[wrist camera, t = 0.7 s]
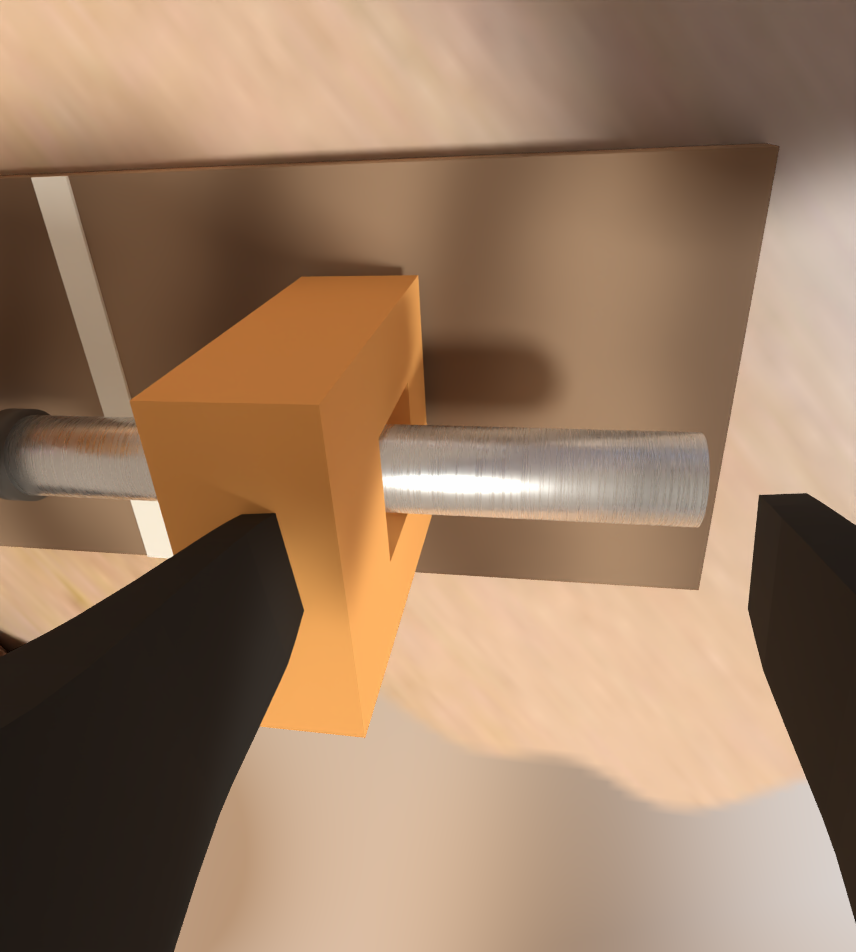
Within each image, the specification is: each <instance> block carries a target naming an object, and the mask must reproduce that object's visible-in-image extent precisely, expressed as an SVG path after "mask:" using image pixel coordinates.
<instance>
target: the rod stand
mask: <svg viewBox="0 0 856 952" xmlns="http://www.w3.org/2000/svg"><path fill="white" fill-rule="evenodd" d="M778 152H779V146H776V145H772V144H768V143H762V144H738V145H714V146H691V147H667V148H643V149H619V150H596V151H572V152H548V153H524V154H501V155H477V156H453V157H430V158H406V159H382V160H358V161H335V162H311V163H287V164H263V165H240V166H216V167H192V168H169V169H145V170H121V171H97V172H74V173H50V174H26V175H2V176H0V546H11V547H27V548H43V549H58V550H74V551H90V552H106V553H121V554H137V555H147V556H148V557H156V558H170V557H172V556H173V552H172V549H171V545H170V542H169V538H168V535H167V531H166V528H165V524H164V521H163V517H162V514H161V510H160V507H159V503H158V500H157V496H156V493H155V489H154V486H153V482H152V479H151V475H150V472H149V468H148V465H147V461H146V458H145V454H144V450H143V447H142V443H141V440H140V436H139V433H138V429H137V426H136V422H135V419H134V415H133V412H132V408H131V405H130V400H131V399H133V398H134V397H135V396H137V395H138V394H139V393H141V392H142V391H144V390H145V389H146V388H148V387H149V386H151V385H152V384H153V383H155V382H156V381H157V380H159V379H160V378H162V377H163V376H164V375H166V374H167V373H169V372H170V371H171V370H173V369H174V368H176V367H177V366H178V365H180V364H181V363H182V362H184V361H185V360H187V359H188V358H189V357H191V356H192V355H194V354H195V353H196V352H198V351H199V350H201V349H202V348H203V347H205V346H206V345H207V344H209V343H210V342H212V341H213V340H214V339H216V338H217V337H219V336H220V335H221V334H223V333H224V332H225V331H227V330H228V329H230V328H231V327H232V326H234V325H235V324H237V323H238V322H239V321H241V320H242V319H244V318H245V317H246V316H248V315H249V314H250V313H252V312H253V311H255V310H256V309H257V308H259V307H260V306H262V305H263V304H264V303H266V302H267V301H269V300H270V299H271V298H273V297H274V296H275V295H277V294H278V293H280V292H281V291H282V290H284V289H285V288H287V287H288V286H289V285H291V284H292V283H294V282H295V281H296V280H298V279H299V278H300V277H311V276H393V275H418V279H419V297H420V315H421V333H422V350H423V368H424V386H425V404H426V422H427V425H404V424H386V425H385V427H384V429H383V431H382V433H381V434H380V436H379V448H380V459H381V469H382V480H383V490H384V501H385V511H386V512H389V513H409V514H430V515H432V517H431V520H430V524H429V527H428V530H427V534H426V537H425V540H424V544H423V547H422V550H421V554H420V557H419V560H418V564H417V567H416V570H415V572H421V573H437V574H452V575H468V576H484V577H500V578H516V579H531V580H547V581H563V582H579V583H594V584H610V585H626V586H642V587H657V588H673V589H689V590H699V585H700V579H701V574H702V568H703V563H704V557H705V552H706V546H707V541H708V535H709V530H710V524H711V519H712V513H713V508H714V502H715V497H716V491H717V486H718V480H719V475H720V469H721V464H722V459H723V453H724V448H725V442H726V437H727V431H728V426H729V420H730V415H731V409H732V404H733V398H734V393H735V387H736V382H737V376H738V371H739V365H740V360H741V354H742V349H743V344H744V338H745V333H746V327H747V322H748V316H749V311H750V305H751V300H752V294H753V289H754V283H755V278H756V272H757V267H758V261H759V256H760V250H761V245H762V239H763V234H764V228H765V223H766V218H767V212H768V207H769V201H770V196H771V190H772V185H773V179H774V174H775V168H776V163H777V157H778Z"/></svg>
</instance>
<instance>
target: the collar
mask: <svg viewBox="0 0 856 952" xmlns="http://www.w3.org/2000/svg"><path fill="white" fill-rule="evenodd" d="M130 405H131V408H132V412H133V415H134V419H135V422H136V426H137V429H138V433H139V436H140V440H141V443H142V447H143V450H144V454H145V458H146V461H147V465H148V468H149V472H150V475H151V479H152V482H153V486H154V489H155V493H156V496H157V500H158V503H159V507H160V510H161V514H162V517H163V521H164V524H165V528H166V531H167V535H168V538H169V542H170V545H171V549H172V552H173V556H174V555H175V554H177V553H178V552H180V551H181V550H183V549H184V548H186V547H187V546H189V545H190V544H192V543H193V542H195V541H197V540H198V539H200V538H201V537H203V536H204V535H206V534H208V533H209V532H211V531H212V530H214V529H216V528H217V527H219V526H221V525H222V524H224V523H226V522H228V521H229V520H231V519H233V518H235V517H237V516H239V515H241V514H261V513H276V517H277V520H278V523H279V527H280V530H281V534H282V537H283V540H284V544H285V547H286V550H287V554H288V557H289V561H290V564H291V567H292V571H293V574H294V577H295V581H296V584H297V588H298V591H299V594H300V598H301V601H302V605H303V608H304V613H303V616H302V620H301V623H300V627H299V631H298V634H297V638H296V641H295V644H294V647H293V650H292V653H291V657H290V660H289V663H288V665H287V668H286V670H285V672H284V674H283V677H282V679H281V681H280V683H279V685H278V688H277V690H276V692H275V694H274V696H273V699H272V701H271V703H270V705H269V707H268V709H267V712H266V714H265V716H264V718H263V720H262V722H261V724H260V726H261V727H270V728H280V729H289V730H299V731H309V732H318V733H326V734H336V735H345V736H355V737H364V738H365V736H366V733H367V730H368V727H369V723H370V719H371V716H372V713H373V710H374V706H375V703H376V700H377V697H378V693H379V690H380V687H381V683H382V680H383V677H384V673H385V670H386V667H387V663H388V660H389V657H390V653H391V650H392V647H393V643H394V640H395V637H396V633H397V630H398V627H399V623H400V620H401V617H402V613H403V610H404V607H405V603H406V600H407V597H408V593H409V590H410V587H411V583H412V580H413V577H414V573H415V570H416V567H417V564H418V560H419V557H420V554H421V550H422V547H423V544H424V540H425V537H426V534H427V530H428V527H429V524H430V520H431V517H432V515H430V514H409V513H389V512H386V511H385V501H384V490H383V480H382V469H381V459H380V448H379V436H380V434H381V433H382V431H383V429H384V427H385V425H386V424H404V425H427V422H426V404H425V386H424V368H423V350H422V333H421V315H420V297H419V279H418V275H393V276H311V277H300V278H299V279H298V280H296V281H295V282H294V283H292V284H291V285H289V286H288V287H287V288H285V289H284V290H282V291H281V292H280V293H278V294H277V295H275V296H274V297H273V298H271V299H270V300H269V301H267V302H266V303H264V304H263V305H262V306H260V307H259V308H257V309H256V310H255V311H253V312H252V313H250V314H249V315H248V316H246V317H245V318H244V319H242V320H241V321H239V322H238V323H237V324H235V325H234V326H232V327H231V328H230V329H228V330H227V331H225V332H224V333H223V334H221V335H220V336H219V337H217V338H216V339H214V340H213V341H212V342H210V343H209V344H207V345H206V346H205V347H203V348H202V349H201V350H199V351H198V352H196V353H195V354H194V355H192V356H191V357H189V358H188V359H187V360H185V361H184V362H182V363H181V364H180V365H178V366H177V367H176V368H174V369H173V370H171V371H170V372H169V373H167V374H166V375H164V376H163V377H162V378H160V379H159V380H157V381H156V382H155V383H153V384H152V385H151V386H149V387H148V388H146V389H145V390H144V391H142V392H141V393H139V394H138V395H137V396H135V397H134V398H133V399H131V400H130Z"/></svg>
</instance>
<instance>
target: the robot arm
mask: <svg viewBox="0 0 856 952" xmlns="http://www.w3.org/2000/svg"><path fill="white" fill-rule="evenodd" d="M748 611H749V615H750V619H751V624H752V628H753V632H754V636H755V640H756V644H757V648H758V652H759V656H760V659H761V663H762V667H763V671H764V673H765V676H766V679H767V681H768V684H769V686H770V689H771V691H772V694H773V696H774V699H775V701H776V704H777V707H778V709H779V712H780V714H781V717H782V719H783V722H784V724H785V727H786V729H787V731H788V734H789V736H790V739H791V741H792V744H793V746H794V749H795V751H796V754H797V756H798V759H799V761H800V764H801V766H802V768H803V771H804V773H805V776H806V778H807V781H808V783H809V786H810V788H811V791H812V793H813V795H814V798H815V801H816V803H817V805H818V808H819V810H820V813H821V815H822V818H823V820H824V823H825V826H826V829H827V832H828V834H829V837H830V840H831V843H832V846H833V848H834V851H835V854H836V857H837V860H838V864H839V867H840V871H841V874H842V877H843V881H844V884H845V888H846V891H847V895H848V898H849V901H850V905H851V908H852V912H853V915H854V919H855V922H856V525H854V524H853V523H851V522H850V521H848V520H847V519H845V518H844V517H843V516H841V515H840V514H838V513H837V512H835V511H834V510H832V509H831V508H829V507H828V506H826V505H825V504H823V503H822V502H820V501H818V500H817V499H815V498H814V497H812V496H810V495H809V494H807V493H803V494H776V495H759V501H758V511H757V522H756V532H755V542H754V552H753V562H752V572H751V583H750V593H749V603H748ZM303 613H304V608H303V605H302V601H301V598H300V594H299V591H298V588H297V584H296V581H295V577H294V574H293V571H292V567H291V564H290V561H289V557H288V554H287V550H286V547H285V544H284V540H283V537H282V534H281V530H280V527H279V523H278V520H277V517H276V513H261V514H241V515H239V516H237V517H235V518H233V519H231V520H229V521H228V522H226V523H224V524H222V525H221V526H219V527H217V528H216V529H214V530H212V531H211V532H209V533H208V534H206V535H204V536H203V537H201V538H200V539H198V540H197V541H195V542H193V543H192V544H190V545H189V546H187V547H186V548H184V549H183V550H181V551H180V552H178V553H177V554H175V555H174V556H172V557H170V558H169V559H167V560H166V561H164V562H163V563H161V564H160V565H158V566H157V567H155V568H154V569H152V570H150V571H149V572H147V573H146V574H144V575H143V576H141V577H140V578H138V579H137V580H135V581H133V582H132V583H130V584H129V585H127V586H125V587H124V588H122V589H120V590H119V591H117V592H115V593H114V594H112V595H110V596H109V597H107V598H106V599H104V600H102V601H101V602H99V603H97V604H96V605H94V606H92V607H91V608H89V609H87V610H86V611H84V612H83V613H81V614H79V615H78V616H76V617H74V618H72V619H71V620H69V621H67V622H65V623H64V624H62V625H60V626H58V627H57V628H55V629H53V630H51V631H49V632H47V633H46V634H44V635H42V636H40V637H38V638H36V639H34V640H32V641H30V642H28V643H26V644H24V645H23V646H21V647H19V648H17V649H15V650H13V651H11V652H9V653H7V654H5V655H3V656H1V657H0V952H174V949H175V946H176V943H177V940H178V937H179V933H180V930H181V927H182V924H183V921H184V918H185V914H186V912H187V908H188V905H189V902H190V899H191V896H192V893H193V890H194V887H195V883H196V880H197V877H198V874H199V872H200V869H201V866H202V863H203V860H204V857H205V854H206V852H207V849H208V846H209V843H210V840H211V837H212V835H213V831H214V829H215V826H216V823H217V820H218V817H219V815H220V812H221V810H222V807H223V805H224V803H225V800H226V798H227V796H228V793H229V791H230V788H231V786H232V784H233V782H234V779H235V777H236V775H237V773H238V771H239V769H240V767H241V765H242V763H243V760H244V758H245V756H246V754H247V752H248V750H249V748H250V745H251V743H252V741H253V739H254V737H255V735H256V733H257V730H258V728H259V726H260V724H261V722H262V720H263V718H264V716H265V714H266V712H267V709H268V707H269V705H270V703H271V701H272V699H273V696H274V694H275V692H276V690H277V688H278V685H279V683H280V681H281V679H282V677H283V674H284V672H285V670H286V668H287V665H288V663H289V660H290V657H291V653H292V650H293V647H294V644H295V641H296V638H297V634H298V631H299V627H300V623H301V620H302V616H303Z"/></svg>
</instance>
